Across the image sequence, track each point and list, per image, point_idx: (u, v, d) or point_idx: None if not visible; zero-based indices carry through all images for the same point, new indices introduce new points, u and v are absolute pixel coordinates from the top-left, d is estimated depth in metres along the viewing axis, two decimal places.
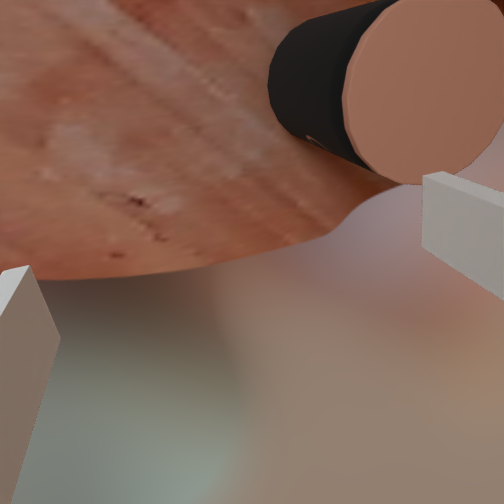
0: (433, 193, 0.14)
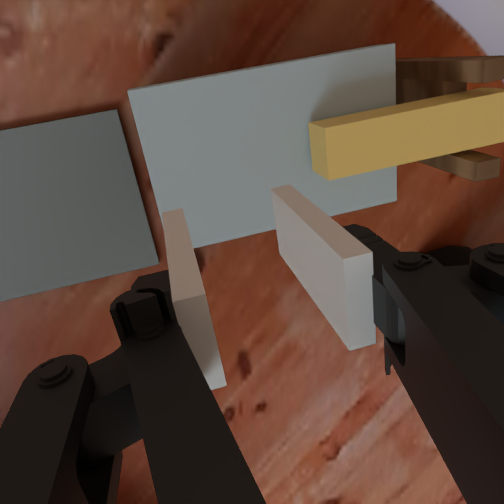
0: (276, 205, 0.16)
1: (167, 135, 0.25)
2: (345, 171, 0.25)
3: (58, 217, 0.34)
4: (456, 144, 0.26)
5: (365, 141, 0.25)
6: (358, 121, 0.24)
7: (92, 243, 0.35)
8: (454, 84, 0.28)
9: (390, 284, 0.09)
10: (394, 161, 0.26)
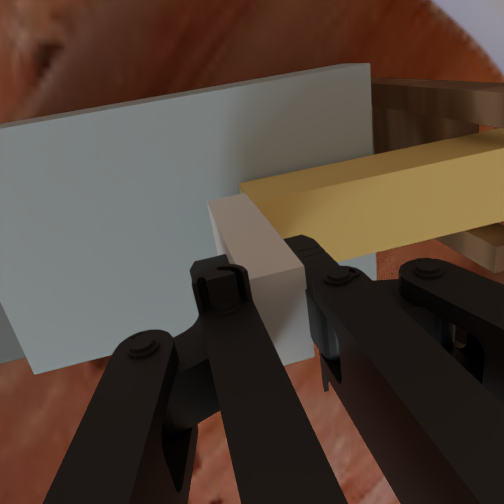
0: None
1: (6, 208, 0.16)
2: None
3: None
4: (467, 218, 0.17)
5: (322, 220, 0.15)
6: (310, 190, 0.15)
7: None
8: (461, 123, 0.19)
9: (321, 301, 0.09)
10: (370, 247, 0.16)
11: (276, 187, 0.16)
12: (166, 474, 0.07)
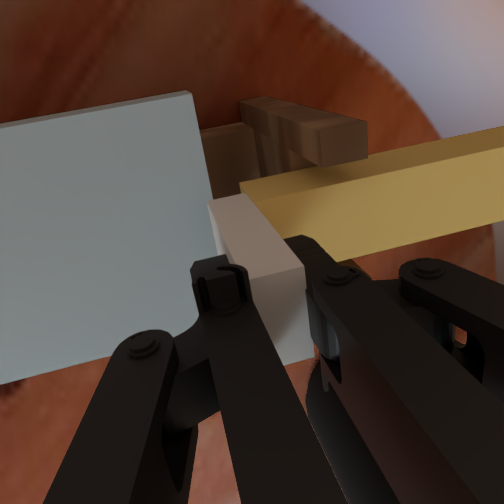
0: None
1: None
2: None
3: None
4: (469, 217, 0.17)
5: (323, 219, 0.15)
6: (311, 189, 0.15)
7: None
8: None
9: (321, 301, 0.09)
10: (372, 246, 0.16)
11: (277, 186, 0.16)
12: (165, 473, 0.07)
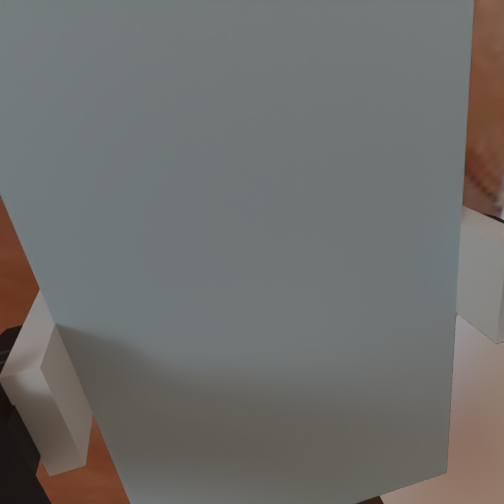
0: None
1: (351, 11, 0.08)
2: None
3: None
4: None
5: None
6: None
7: None
8: None
9: None
10: None
11: None
12: None
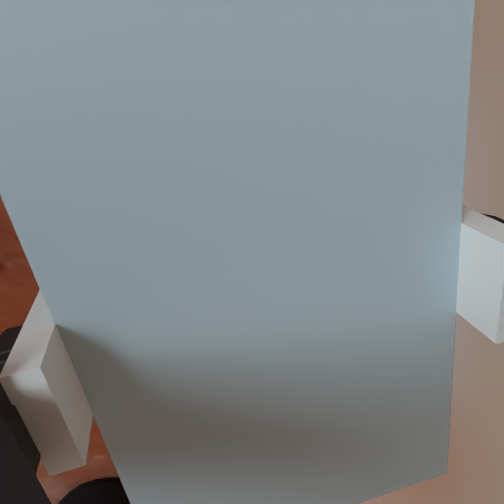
0: None
1: (351, 11, 0.08)
2: None
3: None
4: None
5: None
6: None
7: None
8: None
9: None
10: None
11: None
12: None
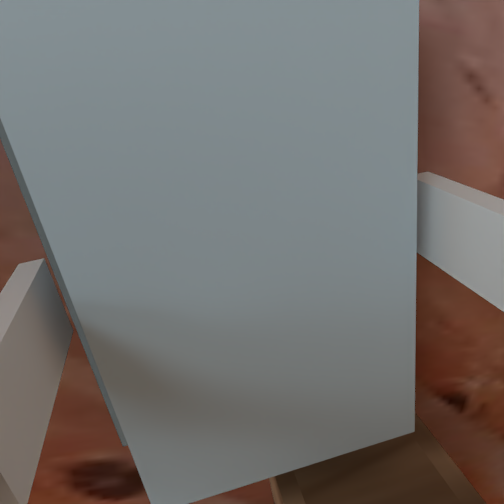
0: (418, 193, 0.14)
1: (313, 19, 0.10)
2: None
3: None
4: None
5: None
6: None
7: None
8: None
9: None
10: None
11: None
12: None
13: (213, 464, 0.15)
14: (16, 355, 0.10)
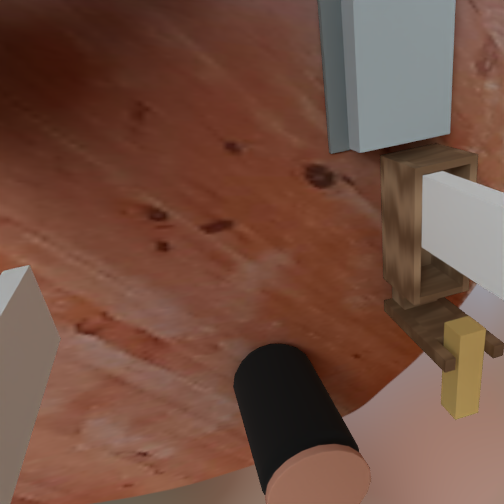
0: (433, 193, 0.14)
1: None
2: (462, 343, 0.46)
3: None
4: (460, 394, 0.49)
5: (474, 349, 0.46)
6: (483, 344, 0.46)
7: None
8: None
9: None
10: (460, 366, 0.47)
11: None
12: None
13: (381, 133, 0.43)
14: None
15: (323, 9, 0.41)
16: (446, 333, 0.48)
